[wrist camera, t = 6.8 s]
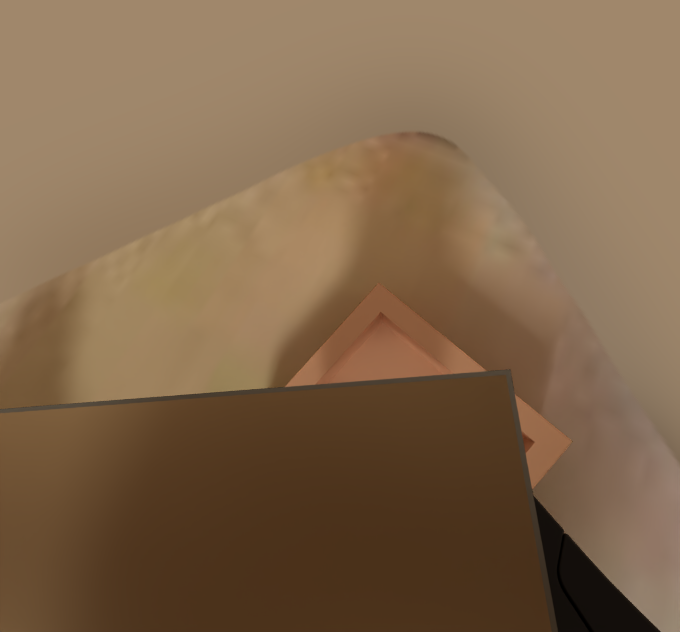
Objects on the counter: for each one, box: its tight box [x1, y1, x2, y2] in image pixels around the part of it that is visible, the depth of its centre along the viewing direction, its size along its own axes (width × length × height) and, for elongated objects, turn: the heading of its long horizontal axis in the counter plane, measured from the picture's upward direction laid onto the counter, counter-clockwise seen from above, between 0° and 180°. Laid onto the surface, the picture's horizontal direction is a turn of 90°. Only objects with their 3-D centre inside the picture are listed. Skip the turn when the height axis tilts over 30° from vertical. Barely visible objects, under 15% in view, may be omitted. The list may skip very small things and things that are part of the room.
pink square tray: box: [285, 283, 573, 489], centre depth 20 cm, size 12×12×4 cm
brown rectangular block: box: [0, 369, 558, 632], centre depth 9 cm, size 5×6×12 cm
